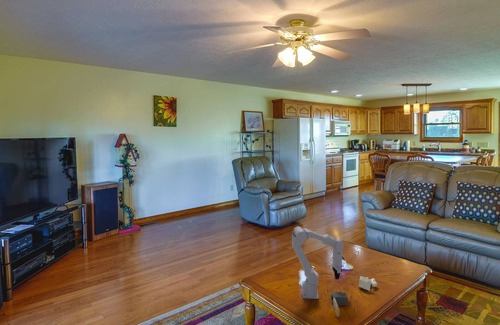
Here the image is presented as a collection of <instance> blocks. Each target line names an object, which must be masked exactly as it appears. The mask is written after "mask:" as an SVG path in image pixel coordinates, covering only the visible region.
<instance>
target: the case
mask: <svg viewBox="0 0 500 325" xmlns="http://www.w3.org/2000/svg"><path fill="white" fill-rule="evenodd" d="M333 297H335V300H336V302H337V305H338V306H349V305H348V304H349V297H348V294H347V292H346V291H332V292H331V294H330V300H331V302H333Z"/></svg>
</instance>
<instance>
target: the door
mask: <svg viewBox="0 0 500 325" xmlns="http://www.w3.org/2000/svg"><path fill="white" fill-rule="evenodd" d="M332 305H333V308H334V311H335V317H336V318H340V307H339V305H337V302H336V300H335V297H333V301H332Z"/></svg>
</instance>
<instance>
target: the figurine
mask: <svg viewBox="0 0 500 325" xmlns="http://www.w3.org/2000/svg"><path fill="white" fill-rule="evenodd" d="M371 286H372V288H374V287H377V286H378V282H377V281H376V279H375V278H371V279H370V278H369V277H367V276H366V277H364V276H362V275H360V276H359V281H358V288H361V289H364V290H366V291H368V292H370V291H371Z"/></svg>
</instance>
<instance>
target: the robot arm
mask: <svg viewBox="0 0 500 325" xmlns="http://www.w3.org/2000/svg"><path fill="white" fill-rule="evenodd" d="M291 237H292V238H291V246H292V248H293V251H294V252H295V254H296V256H297V258H298V260H299V262H300V265H301V267H302V268H303V271H304V277H306V278H305V280H302V281H301V283H302V284H301V286H302V287H301V288H302V289H301V294H302V299H310V300H311V299H313V300H319V299H320V298H319V294H318V292H319V291H318V284H319V281H320V278H319V275H318V274H317V273H316V271H315V270H314V268H312V266H311V264H310V262H309V259H308V258H307V256H306V252H304V249H303V248H302V244H304V243H305V241H307V240H309V239H310V238H312V239H314V240H318V241H321V243H322V244H323V245H326V246H328V247H331V248H332V263H331V268H332V271H333V275H334V278H335V280H340V277H341V274H342V272H343V268H344V267H345V265H344V264H343V249H344V247H345V244H344V242H343V241H342V240H341V239H340V238H338V237H337V236H336V237H334V236H332V235H330V234H328V233H327V234H326V233H325V234H320V233H317V232H316V231H313V230H311V229H309V228H306V227H301V226H295V227H294V228H293V230H292V232H291Z"/></svg>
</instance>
